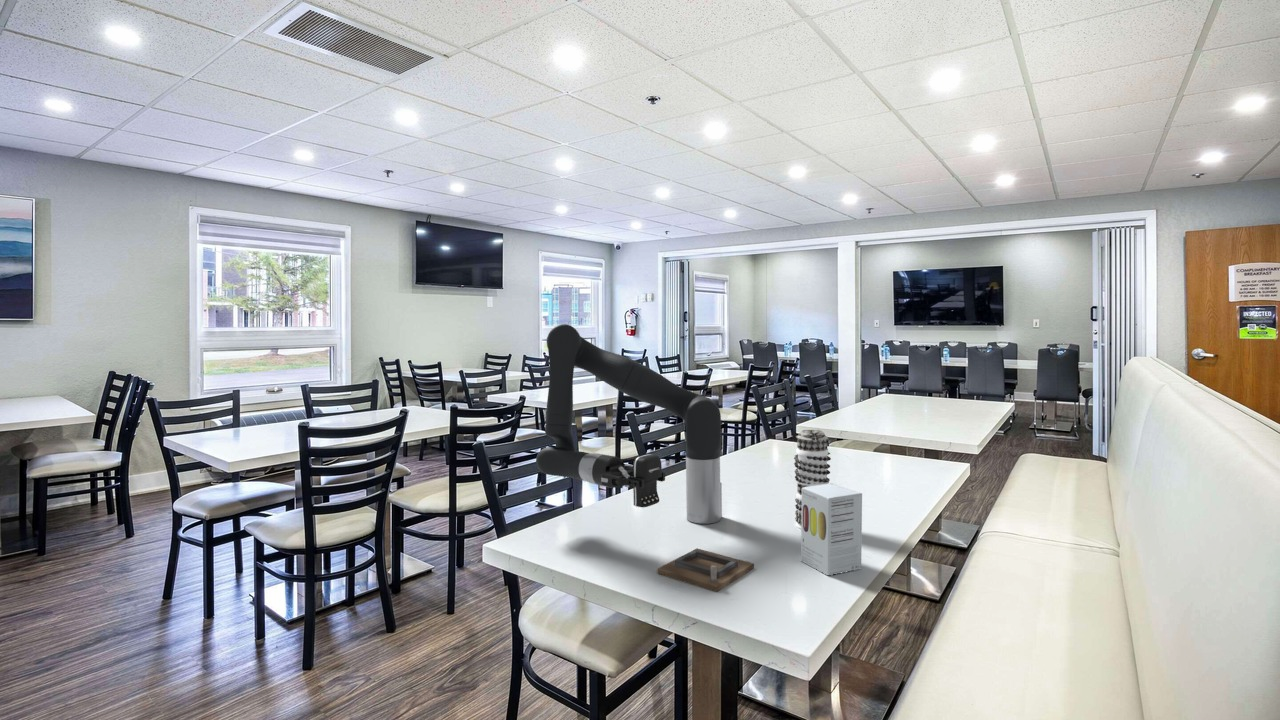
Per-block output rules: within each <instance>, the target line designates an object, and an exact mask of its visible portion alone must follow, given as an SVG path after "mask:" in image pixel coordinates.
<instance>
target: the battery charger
mask: <svg viewBox="0 0 1280 720" xmlns="http://www.w3.org/2000/svg"><path fill="white" fill-rule="evenodd" d="M632 462H633V463H632V466H633V477H638V478H643V479H644V488H642V489H640V488H636V487H632V493H633V506H634V507H636V508H637V507H638V508H648V507H651V506H653V505H655V504H658V503H660V497H659V494H658V486H657V485H658V481H657V479H658V478H660V477H662V472H663V470H662V467H663V466H662V459H661V458H660V457H659V456H658V455H655V454H652V453H651V454H650V453H647V454H643V455H639V456H636V457H635V458H634V460H633V461H632Z"/></svg>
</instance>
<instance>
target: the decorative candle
mask: <svg viewBox="0 0 1280 720" xmlns="http://www.w3.org/2000/svg"><path fill="white" fill-rule="evenodd" d="M795 437H796V439H797V441H796V443H797V447H796V454H795V455H794V458H793V459H794V463H793V464H794V467H795V469H794V473H795V476H794V479H795V480H794V481H795V483H797V484H796V485H797V486H796V487H797V491H796V498H795V503H796V504H795V505H794V506H795V509H796V510H795V513H794V514H795V518H794V519H795V527H796V528H798V529H800V530H801V520H802V488H803V487H809V486H816V485H823V484H830V478H828V475H829V474H831V471H830V470H828V469H829V468H831V465H830V464H829V463H828V462H829V461H831V460H832V458H831V456H829V455H831V452H829V449H828V439H829V437H828V436H827V435H826V434H825V432H823V431H822V430H819V429H818V430H817V429H804V430H802V431H800V432H799V433H798V435H795Z"/></svg>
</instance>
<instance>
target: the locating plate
mask: <svg viewBox="0 0 1280 720" xmlns="http://www.w3.org/2000/svg"><path fill="white" fill-rule="evenodd" d="M753 569H755V563H753V562H751V561H746V560H742V559H739V558H734V557H731V556H727V555H724V554H720V553H716V552H712V551H708V550H705V549H701V548H695V549H693V550H691V551H689V552H687V553H685V554H683V555H681V556H679V557H677V558H674V559H673V560H672V561H670V562H669V561H668V563H666V564H664V565H662V566H659V567H658V568H657V569H656V571H657V574H658V575H660V576H661V575H662V576H665V577H669V578H671V579H675V580H678V581H681V582H684V583H688V584H691V585H694V586H697V587H699V588H703V589H707V590H710V591H713V592H715V593H717V592H719V591H720V590H722V589H724V588H725V587H727V586H728V585H730V584H731V583H733V582H734V581H737V580H738V579H739V578H741V577H743V576H744V575H745V574H747V573H748V572H749V573H750V571H752V570H753Z"/></svg>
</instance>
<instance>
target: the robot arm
mask: <svg viewBox="0 0 1280 720" xmlns="http://www.w3.org/2000/svg"><path fill="white" fill-rule="evenodd" d="M546 347H547V350H548V351H547V353H548V359H549V360H548V362H549V363H548V364H549V382H548V383H549V384H548V390H547V392H548V393H547V400H546V401H547V402H546V409H545V410H546V411H545V424H544V425H545V426H544V433H545V435H546V436H547V437H548V438H550V439H553V440H554V443H555V446H554V447H553V446H547V447H544V448H542V449H541V450H540V451H538V453H537V455H536V457H535V463H536V466H537V469H538V470H539V471H540V472H541V473H542V474H545V475H548V476H556V477H567V478H572V479H574V480H579V481H584V482H587V483H589V484H593V485H597V486H601V487H605V488H609V489H610V488H611V489H613V488H614V489H615V488H616V489H623V488H624V487H625V488H630V487H632V488H633V487H636V488H640V489H642V488H644V479H643V478H638V477H633V464H625V462H624V461H623V460H622V458H621V457H618V456H614V455H608V454H603V453H597V452H596V453H593V452H592V453H591V452H585V451H578V450H576V448H575V443H574V438H573V431H572V428H573V416H574V415H573V413H574V411H573V410H574V392H573V391H574V388H573V387H574V386H573V385H574V380H573V379H574V372H575V367H577V368H579V369H581V370H584V371H585V372H586V371H587V373H590V374H591V375H593V376H594V377H596V378H598V379H599V380H601V381H602V382H604V383H605V384H607V385H609V386H610V387H612V388H614V389H616V390H618V391H619V392H621V393H623V394H625V395H626V396H629V397H631V398H633V399H636V400H638V401H641V402H643V403H646V404H649V405H652V406H656V407H658V408H659V407H660V408H662V409H665V410H667V411H669V412H671V413H672V414H674V415H675V416H677V417H679V418H680V419H682V420H683V421H685V434H686V435H685V436H686V438H685V440H686V441H685V473H686V474H685V478H686V479H685V483H686V519H687V521H689V522H692V523H695V524H700V525H701V524H702V525H703V524H708V525H709V524H714V523H717V522H720V520H721V517H723V513H722V512H723V508H722V507H723V505H722V504H723V499H722V498H723V497H722V495H723V493H722V485H723V484H722V482H721V446H722V416H721V415H722V414H721V411H720V408H719V406H718V405H717V404H716V402H715V401H714V400H712V398H709V397H707V396H704V395H702V394H699V393H695V392H693V391H691V390H689V389H686V388H684V387H681V386H680V385H678V384H676V383H674V382H672V381H670V380H669V379H668V378H666V377H665V376H663V375H661V374H660V373H659V372H657V371H655V370H653V369H651V368H650V367H648V366H646V365H644V364H643V363H640V362H638V361H636V360H634V359H632V358H630V357H627V356H624V355H621V354H618V353H615V352H611V351H608V350H605V349H602V348H601V347H598V346H597V345H595V344H594V343H591V342H590V341H588V340H586V339H585V338H584V337H582V336H581V335H580V332H578V330H577V329H576V328H575V327H573V326H572V325H570V324H568V323H562V324H558V325H556V326H554V327H552V328H551V330H550V331H549V332H548V334H547V337H546ZM665 481H666V473H665V471H662V477H660V478H658V479H657V482H665Z"/></svg>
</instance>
